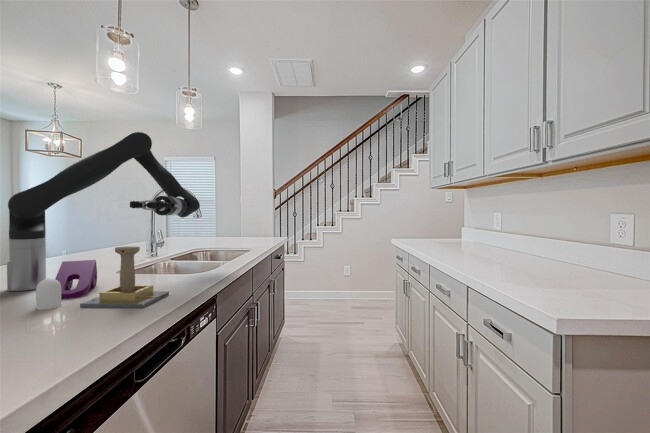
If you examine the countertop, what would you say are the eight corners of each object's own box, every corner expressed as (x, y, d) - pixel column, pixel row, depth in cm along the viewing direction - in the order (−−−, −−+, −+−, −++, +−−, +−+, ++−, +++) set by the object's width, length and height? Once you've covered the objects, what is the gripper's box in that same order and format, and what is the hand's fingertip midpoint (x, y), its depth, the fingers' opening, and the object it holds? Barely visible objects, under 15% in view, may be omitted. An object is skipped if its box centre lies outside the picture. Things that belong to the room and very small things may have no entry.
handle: (134, 299, 94) (133, 248, 94) (111, 299, 94) (111, 248, 94) (142, 294, 99) (142, 246, 99) (121, 294, 99) (121, 246, 98)
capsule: (49, 309, 87) (49, 280, 87) (30, 309, 87) (30, 280, 87) (66, 304, 92) (66, 276, 92) (48, 303, 93) (48, 276, 92)
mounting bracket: (89, 312, 103) (97, 278, 117) (86, 292, 100) (96, 259, 114) (51, 317, 99) (65, 281, 113) (47, 295, 95) (62, 261, 110)
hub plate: (80, 307, 89) (79, 294, 89) (114, 293, 103) (114, 283, 103) (143, 307, 89) (143, 295, 89) (169, 294, 103) (168, 283, 103)
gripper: (150, 195, 125) (122, 193, 109) (185, 196, 125) (163, 194, 109) (149, 215, 126) (122, 215, 109) (185, 215, 125) (163, 216, 109)
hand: (143, 204), depth 109 cm, fingers open, 8 cm apart
